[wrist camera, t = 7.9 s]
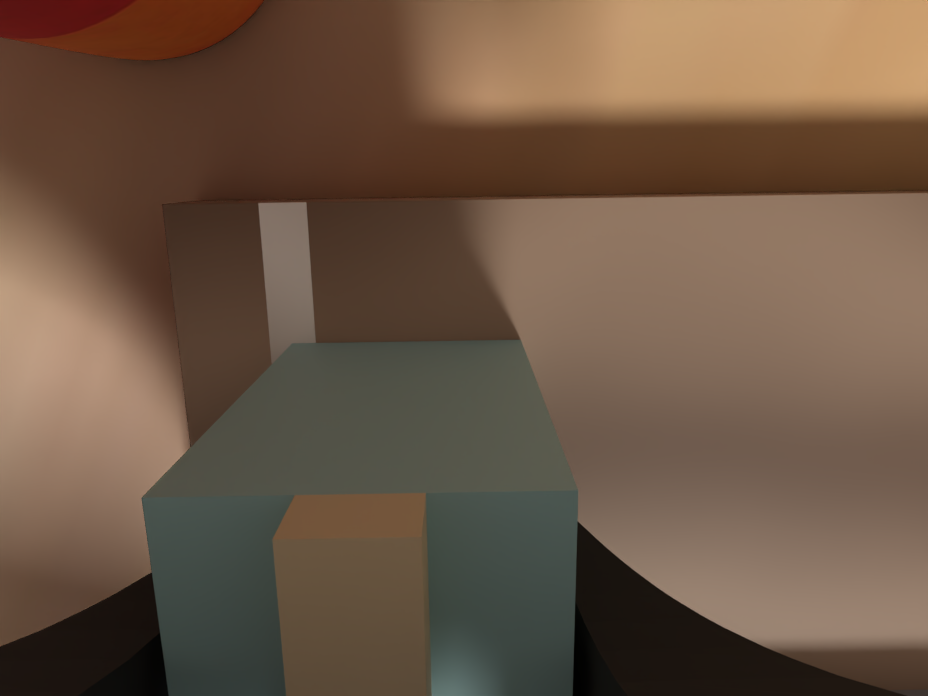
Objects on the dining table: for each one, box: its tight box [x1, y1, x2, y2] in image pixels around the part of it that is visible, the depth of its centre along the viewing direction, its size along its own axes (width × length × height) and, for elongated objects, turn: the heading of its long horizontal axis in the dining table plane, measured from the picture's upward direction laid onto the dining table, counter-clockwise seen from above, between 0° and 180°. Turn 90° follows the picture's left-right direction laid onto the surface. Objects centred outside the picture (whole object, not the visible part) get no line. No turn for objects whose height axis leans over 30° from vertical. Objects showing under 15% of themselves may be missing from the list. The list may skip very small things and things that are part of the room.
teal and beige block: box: [142, 340, 578, 696], centre depth 10 cm, size 7×4×7 cm, turn 1°
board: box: [162, 190, 928, 696], centre depth 13 cm, size 11×23×3 cm, turn 91°
